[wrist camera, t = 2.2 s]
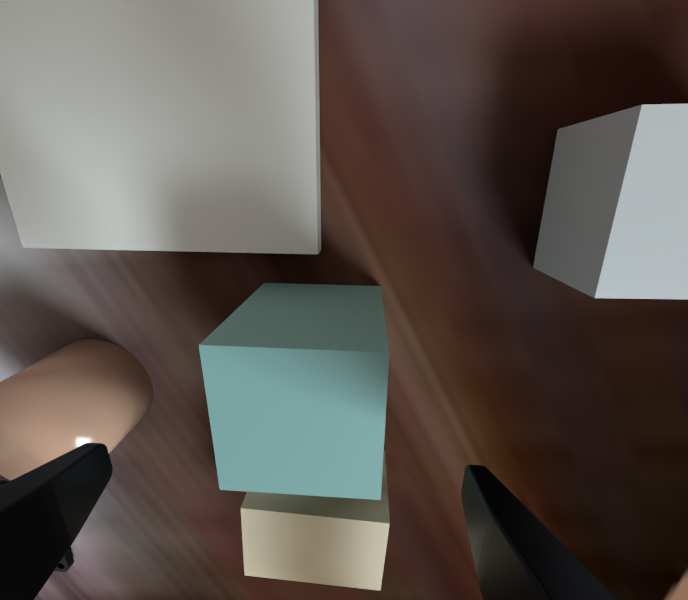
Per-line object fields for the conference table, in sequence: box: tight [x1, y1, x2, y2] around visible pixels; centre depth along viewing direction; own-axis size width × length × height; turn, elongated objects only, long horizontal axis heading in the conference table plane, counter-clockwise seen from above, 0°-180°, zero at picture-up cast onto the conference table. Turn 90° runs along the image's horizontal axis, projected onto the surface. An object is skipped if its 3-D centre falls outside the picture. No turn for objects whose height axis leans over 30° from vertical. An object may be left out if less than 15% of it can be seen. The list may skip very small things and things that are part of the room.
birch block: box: [241, 451, 390, 590], centre depth 16 cm, size 6×4×4 cm, turn 87°
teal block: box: [199, 283, 389, 500], centre depth 12 cm, size 5×5×6 cm
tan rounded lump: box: [0, 339, 153, 481], centre depth 15 cm, size 5×5×4 cm
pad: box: [0, 0, 321, 254], centre depth 12 cm, size 12×12×1 cm
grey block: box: [533, 104, 688, 299], centre depth 11 cm, size 5×5×4 cm
